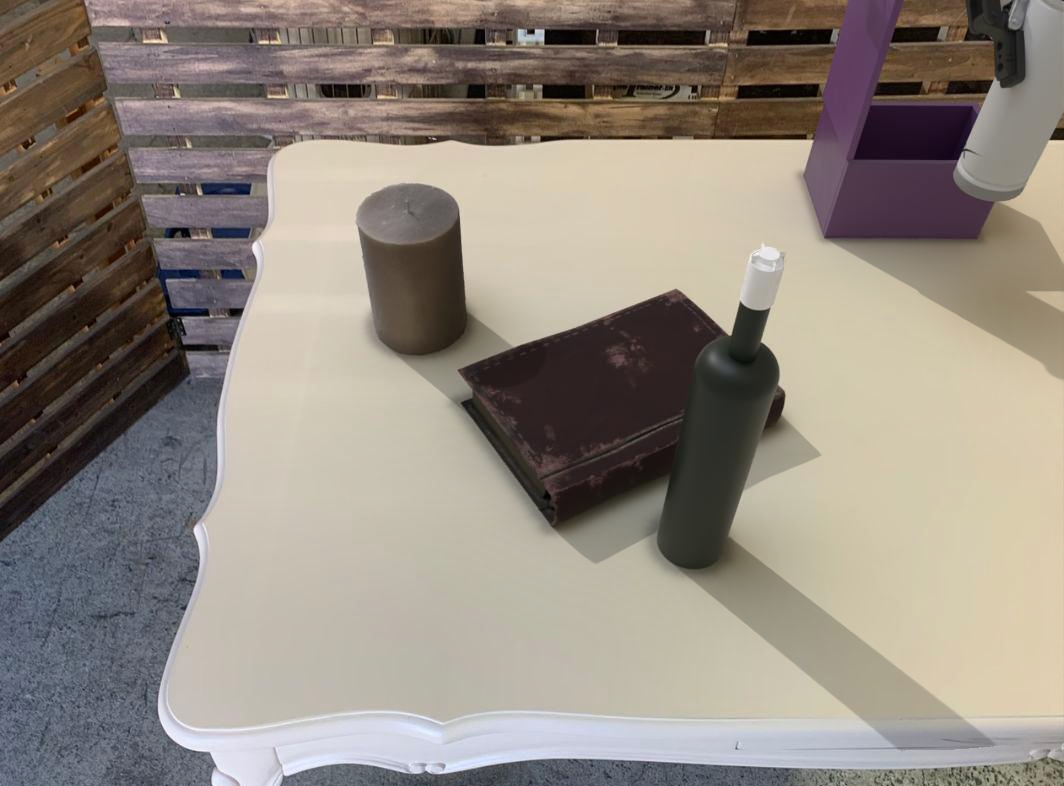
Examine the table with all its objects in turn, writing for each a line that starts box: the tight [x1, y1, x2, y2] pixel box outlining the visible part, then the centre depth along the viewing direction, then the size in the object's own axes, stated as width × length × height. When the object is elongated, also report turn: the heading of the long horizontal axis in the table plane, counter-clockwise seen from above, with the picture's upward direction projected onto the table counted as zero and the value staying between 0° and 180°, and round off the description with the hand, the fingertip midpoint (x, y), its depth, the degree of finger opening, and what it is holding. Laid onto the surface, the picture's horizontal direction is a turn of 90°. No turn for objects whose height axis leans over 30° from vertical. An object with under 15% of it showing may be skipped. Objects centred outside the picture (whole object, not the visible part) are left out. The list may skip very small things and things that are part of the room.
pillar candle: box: [355, 182, 468, 356], centre depth 88 cm, size 10×10×15 cm
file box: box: [803, 101, 995, 240], centre depth 103 cm, size 18×13×10 cm
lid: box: [821, 0, 905, 159], centre depth 91 cm, size 18×13×5 cm
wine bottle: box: [656, 242, 787, 570], centre depth 66 cm, size 6×6×30 cm
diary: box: [457, 288, 787, 527], centre depth 85 cm, size 19×25×5 cm
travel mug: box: [953, 0, 1064, 203], centre depth 75 cm, size 6×7×20 cm
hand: (1051, 80), depth 73 cm, fingers closed on travel mug, 6 cm apart
